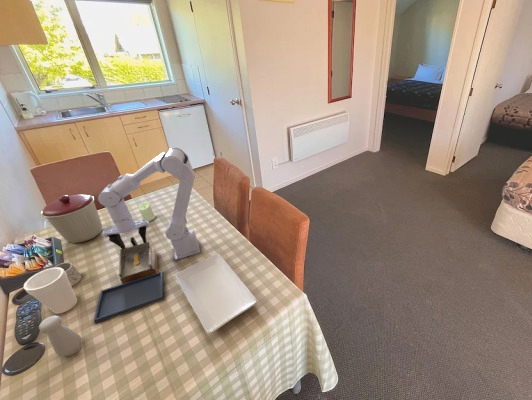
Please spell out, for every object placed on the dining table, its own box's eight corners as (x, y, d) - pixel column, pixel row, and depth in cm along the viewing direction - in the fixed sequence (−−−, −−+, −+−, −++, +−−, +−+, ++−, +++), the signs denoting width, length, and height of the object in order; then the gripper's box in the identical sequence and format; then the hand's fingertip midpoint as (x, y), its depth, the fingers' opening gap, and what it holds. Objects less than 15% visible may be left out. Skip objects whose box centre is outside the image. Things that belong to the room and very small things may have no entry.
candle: (151, 221, 131) (145, 207, 126) (141, 221, 131) (135, 207, 127) (157, 215, 135) (151, 202, 131) (147, 215, 135) (141, 202, 131)
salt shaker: (69, 340, 79) (45, 312, 72) (89, 338, 79) (67, 310, 72) (54, 360, 74) (26, 332, 67) (75, 358, 74) (50, 330, 67)
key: (133, 257, 101) (133, 256, 101) (139, 255, 102) (138, 254, 102) (134, 266, 99) (133, 265, 98) (139, 264, 99) (139, 263, 99)
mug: (79, 272, 102) (71, 259, 99) (82, 281, 98) (73, 268, 95) (45, 286, 96) (35, 273, 93) (46, 297, 92) (35, 284, 89)
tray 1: (163, 273, 101) (162, 271, 100) (163, 299, 91) (162, 296, 90) (102, 293, 93) (100, 290, 93) (95, 323, 83) (93, 320, 83)
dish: (151, 241, 108) (146, 233, 104) (152, 268, 99) (148, 261, 96) (122, 249, 104) (116, 241, 101) (121, 278, 95) (115, 270, 92)
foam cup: (62, 320, 85) (39, 292, 78) (39, 315, 86) (14, 287, 80) (89, 296, 92) (71, 269, 86) (68, 292, 94) (48, 265, 87)
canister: (70, 253, 112) (42, 212, 101) (54, 239, 120) (26, 199, 109) (117, 231, 125) (97, 192, 114) (99, 219, 133) (78, 182, 122)
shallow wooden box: (157, 255, 110) (155, 249, 108) (157, 274, 101) (154, 268, 99) (126, 264, 106) (123, 258, 104) (123, 285, 96) (119, 279, 95)
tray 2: (209, 341, 78) (206, 334, 76) (176, 280, 98) (173, 273, 96) (260, 308, 87) (258, 301, 85) (220, 258, 108) (218, 252, 106)
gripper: (144, 206, 103) (156, 234, 110) (99, 216, 97) (114, 245, 104) (143, 216, 98) (155, 244, 105) (95, 227, 92) (112, 256, 99)
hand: (135, 245), depth 104 cm, fingers closed on dish, 7 cm apart
